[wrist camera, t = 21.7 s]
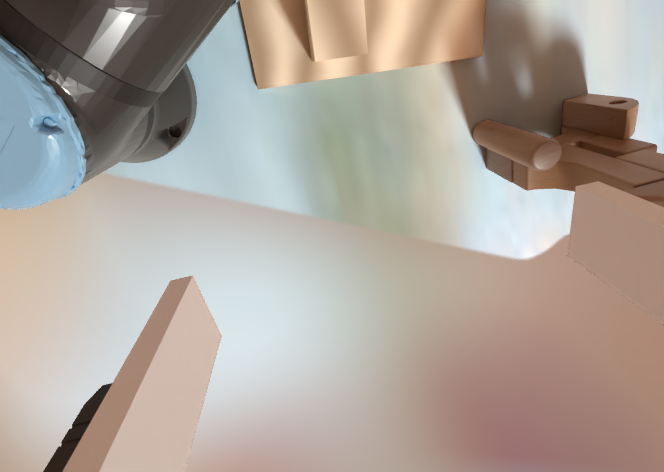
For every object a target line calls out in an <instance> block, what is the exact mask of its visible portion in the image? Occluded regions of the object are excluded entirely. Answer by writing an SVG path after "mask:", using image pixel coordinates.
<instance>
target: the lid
mask: <svg viewBox="0 0 664 472" xmlns="http://www.w3.org/2000/svg"><path fill="white" fill-rule="evenodd" d="M239 1H240V6H241V11H242V15H243V20H244V25H245V30H246V34H247V39H248V44H249V49H250V53H251V58H252V63H253V68H254V73H255V77H256V82H257V87H258V89H264V88H271V87H278V86H284V85H291V84H298V83H305V82H311V81H318V80H325V79H332V78H339V77H345V76H352V75H359V74H366V73H372V72H379V71H386V70H393V69H399V68H406V67H413V66H420V65H427V64H433V63H440V62H447V61H454V60H460V59H467V58H474V57H481V56H482V53H483V37H484V20H485V4H486V0H239Z"/></svg>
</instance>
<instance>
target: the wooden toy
mask: <svg viewBox="0 0 664 472" xmlns="http://www.w3.org/2000/svg"><path fill="white" fill-rule="evenodd" d="M638 105H639V103H638V101H637V100H635V99H631V98H624V97H615V96H606V95H596V94H585V95H581V96H578V97H574V98H570V99H567V100H564V101H563V115H562V125H563V126H562V127H561V135H559V136H556V137H553V138H548V137H545V136H541V135H538V134H535V133H532V132H528V131H525V130H522V129H518V128H515V127H512V126H509V125H505V124H502V123H499V122H495V121H492V120H484V121H481V122H480V123H478V124H477V125H476V127H475V128H474V131H473V138H474V141H475V142H476V143H477V144H479V145H481V146H483V147H485V148H486V161H487V169H488V170H490V171H492V172H494V173H496V174H497V175H499V176H501V177H503V178H504V179H506V180H508V181H510V182H512V183H514V184H516V185H518V186H520V187H521V188H523V189H525V190H534V189H553V188H556V189H562V190H569V191H574V192H575V188H576V186H580V185H584V184H589V183H593V182H597V181H599V182H601V183H604V184H606V185H609V186H612V187H614V188H617V189H619V190H622V191H624V192H627V193H629V194H632V195H634V196H637V197H639V198H642V199H644V200H647V201H649V202H652V203H654V204H657V205H659V206H662V207H664V154H661V153H657V152H656V151H657V145H656V144H651V143H647V142H643V141H638V140H634V139H630V138H629V137H631V136H632V135H633V133H634V131H635V125H636V119H637V112H638Z"/></svg>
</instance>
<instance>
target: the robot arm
mask: <svg viewBox="0 0 664 472" xmlns="http://www.w3.org/2000/svg"><path fill="white" fill-rule="evenodd" d="M238 1H239V0H0V208H3V209H14V210H17V209H26V208H31V207H35V206H38V205H41V204H44V203H46V202H48V201H51V200H54V199H58V198H61V197H64V196H67V195H69V194H70V193H71V192H72V191H75V190H76V189H77V188H78V187H79V186H80V185H81V184H83V183H84V182H86V181H88V180H89V179H91V178H93V177H95V176H96V175H98V174H100V173H101V172H103V171H105V170H107V169H108V168H110V167H112V166H113V165H115V164H117V163H118V162H127V163H140V162H147V161H151V160H155V159H157V158H160V157H162V156H164V155H166V154H168V153H169V152H170V151H172V150H173V149H175V148H176V147H177V146H178V145H180V144H181V143H182V142H183V140H184V139H185V138H186V136H187V135H188V133H189V132H190V130H191V128H192V125H193V123H194V119H195V115H196V105H197V101H196V91H195V86H194V82H193V79H192V76H191V73H190V71H189V68H188V66H187V64H186V63H187V62H188V60H189V59H190V58H191V56H192V55H193V54H194V53H195V51H196V50H197V49H198V47H199V46H200V45H201V44H202V42H203V41H204V40H205V38H206V37H207V36H208V34H209V33H210V32H211V31H212V29H213V28H214V27H215V25H216V24H217V23H218V22H219V20H220V19H221V18H222V16H223V15H224V14H225V12H226V11H227V10H228V9H229V7H230V6H231V7H232V6H234V5H235V4H236V3H237V2H238ZM568 257H570V258H571V259H572V260H574V261H575V262H576V263H578V264H579V265H580V266H582V267H583V268H585V269H586V270H587V271H589V272H590V273H591V274H593V275H594V276H596V277H597V278H599V279H600V280H601V281H603V282H604V283H605V284H607V285H608V286H610V287H611V288H612V289H614V290H615V291H617V292H618V293H619V294H621V295H622V296H624V297H625V298H626V299H628V300H629V301H630V302H632V303H633V304H635V305H636V306H637V307H639V308H640V309H642V310H643V311H644V312H646V313H647V314H649V315H650V316H651V317H653V318H654V319H655V320H657V321H658V322H660V323H661V324H663V325H664V207H662V206H659V205H657V204H654V203H652V202H649V201H647V200H644V199H642V198H639V197H637V196H634V195H632V194H629V193H627V192H624V191H622V190H619V189H617V188H614V187H612V186H609V185H606V184H604V183H601V182H599V181H597V182H593V183H589V184H584V185H580V186H576V188H575V196H574V205H573V213H572V222H571V230H570V239H569V248H568ZM220 340H221V334H220V332H219V329H218V327H217V325H216V323H215V321H214V319H213V317H212V315H211V313H210V311H209V309H208V307H207V304H206V302H205V300H204V298H203V296H202V294H201V292H200V290H199V288H198V286H197V284H196V281H195V279H194V277H193V276H189V277H185V278H180V279H176V280H172V281H170V283H169V285H168V286H167V288H166V290H165V292H164V294H163V295H162V297H161V299H160V301H159V303H158V304H157V306H156V308H155V310H154V311H153V313H152V315H151V317H150V318H149V320H148V322H147V324H146V325H145V327H144V329H143V331H142V332H141V334H140V336H139V338H138V339H137V341H136V343H135V345H134V347H133V348H132V350H131V352H130V354H129V355H128V357H127V359H126V361H125V362H124V364H123V366H122V368H121V369H120V371H119V373H118V375H117V377H116V378H115V380H114V382H113V383H111V384H107V385H103V386H102V387H101V388H100V389H99V390H98V391H97V392H96V393H95V394H94V395H93V396H92V397H91V398H90V399H89V400H88V401H87V402H86V404H85V405H84V406H83V408H82V409H81V411H80V413H79V415H78V416H77V418H76V419H75V421H74V422H73V424H72V429H69V431H68V432H67V434H66V435H65V437H64V439H63V440H62V442H61V443H62V445H61V447H58V449H57V450H56V452H55V453H54V455H53V457H52V458H51V460H50V462H49V463H48V465H47V467H46V468H45V470H44V471H43V472H185V470H186V466H187V462H188V459H189V455H190V451H191V448H192V444H193V440H194V436H195V433H196V429H197V425H198V422H199V418H200V414H201V410H202V407H203V403H204V399H205V395H206V392H207V388H208V384H209V381H210V377H211V373H212V369H213V365H214V362H215V358H216V355H217V350H218V347H219V343H220Z"/></svg>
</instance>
